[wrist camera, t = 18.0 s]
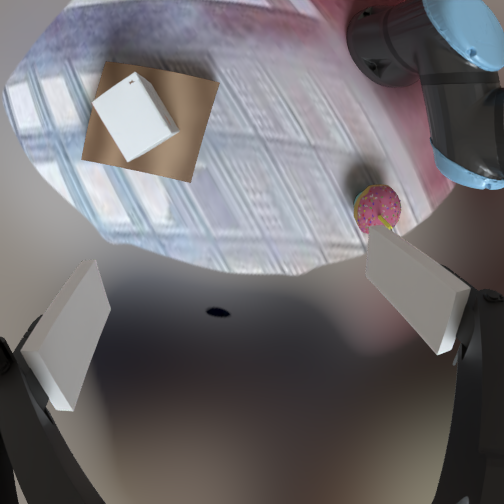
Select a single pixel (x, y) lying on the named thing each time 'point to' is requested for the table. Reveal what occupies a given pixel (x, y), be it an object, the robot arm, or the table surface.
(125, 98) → the small box
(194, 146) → the walnut block
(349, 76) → the table surface
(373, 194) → the cupcake
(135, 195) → the table surface
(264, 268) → the table surface
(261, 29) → the table surface
